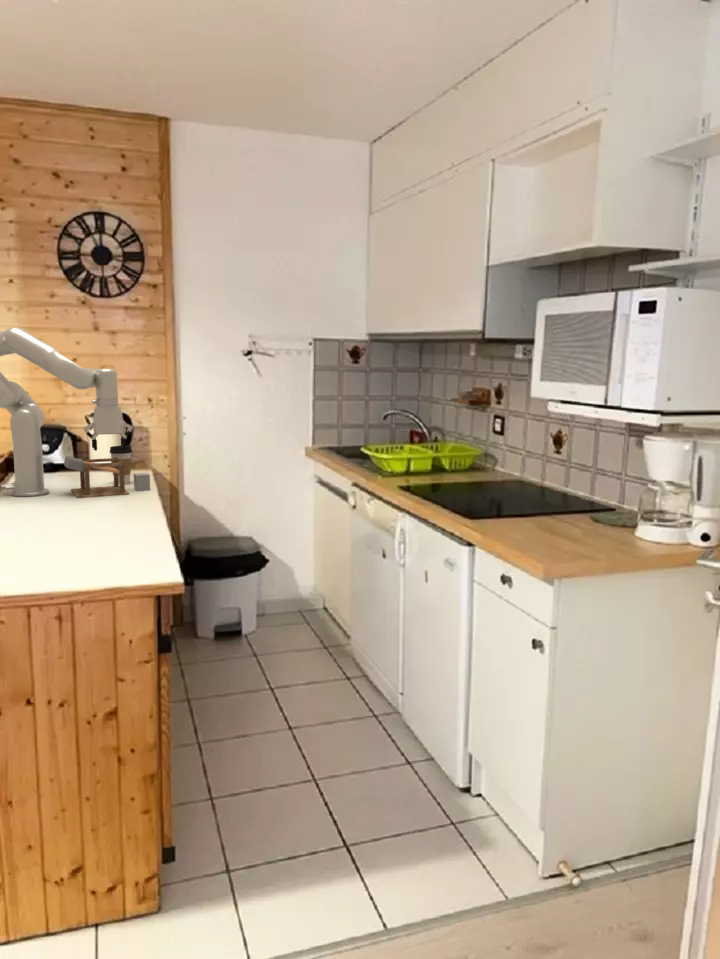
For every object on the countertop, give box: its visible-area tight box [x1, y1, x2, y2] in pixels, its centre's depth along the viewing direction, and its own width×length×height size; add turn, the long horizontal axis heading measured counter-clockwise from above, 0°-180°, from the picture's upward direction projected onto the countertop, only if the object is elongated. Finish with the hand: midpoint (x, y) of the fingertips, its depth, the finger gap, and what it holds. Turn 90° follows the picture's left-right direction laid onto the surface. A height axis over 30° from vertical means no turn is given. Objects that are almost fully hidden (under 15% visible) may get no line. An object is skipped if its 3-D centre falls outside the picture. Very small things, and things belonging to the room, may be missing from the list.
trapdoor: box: [63, 455, 119, 474], centre depth 273 cm, size 18×10×3 cm, turn 117°
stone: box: [133, 472, 151, 492], centre depth 282 cm, size 5×5×6 cm
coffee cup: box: [109, 444, 133, 486], centre depth 294 cm, size 8×8×15 cm
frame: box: [70, 457, 130, 499], centre depth 274 cm, size 18×17×12 cm
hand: (109, 449), depth 275 cm, fingers open, 9 cm apart
